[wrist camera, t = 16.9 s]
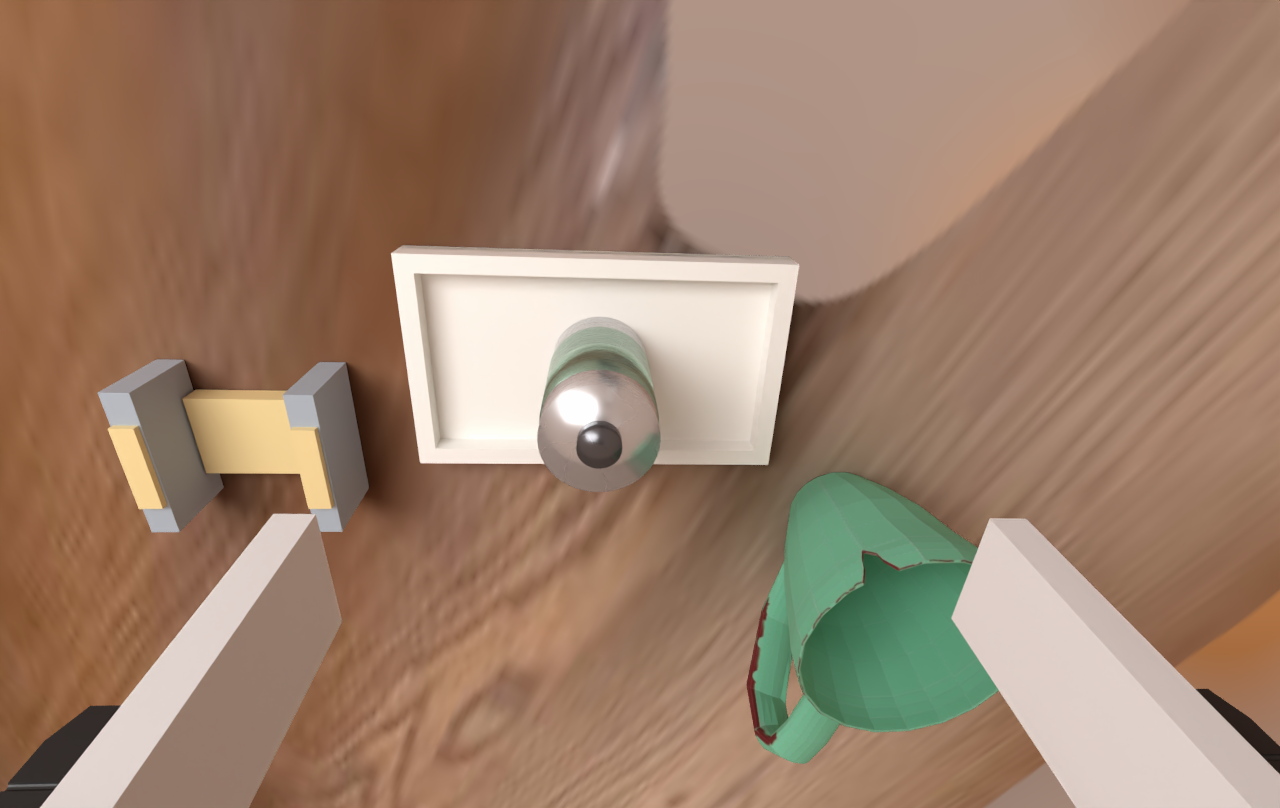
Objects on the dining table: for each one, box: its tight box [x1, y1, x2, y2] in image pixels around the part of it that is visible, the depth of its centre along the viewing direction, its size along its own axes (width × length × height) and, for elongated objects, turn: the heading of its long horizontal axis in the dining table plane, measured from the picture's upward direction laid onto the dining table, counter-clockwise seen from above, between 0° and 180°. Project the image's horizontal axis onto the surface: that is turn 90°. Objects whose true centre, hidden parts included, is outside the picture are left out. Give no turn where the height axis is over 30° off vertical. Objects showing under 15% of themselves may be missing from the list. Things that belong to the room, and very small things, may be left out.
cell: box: [537, 317, 661, 492], centre depth 25 cm, size 4×4×8 cm
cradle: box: [98, 359, 369, 532], centre depth 28 cm, size 7×8×4 cm
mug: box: [747, 472, 999, 764], centre depth 30 cm, size 15×10×10 cm
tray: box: [391, 245, 799, 465], centre depth 28 cm, size 10×17×2 cm, turn 88°
